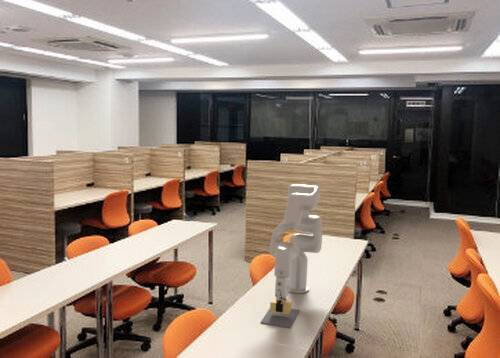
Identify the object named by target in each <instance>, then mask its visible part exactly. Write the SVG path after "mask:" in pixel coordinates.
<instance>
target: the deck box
mask: <svg viewBox="0 0 500 358" xmlns="http://www.w3.org/2000/svg"><path fill="white" fill-rule="evenodd" d="M276 298H277V297H273V298H272V299H271V301H270V302H269V304H270V305H269V309H270V311H271V312H277V311H276ZM285 299H286V298H285ZM285 299H283V301H282V304H283V312H277V313H283V314H289V313H290V311H291V309H293V308H292V307H293V305H292V304H293V300H291V299H286V300H285ZM280 300H281V299H280Z"/></svg>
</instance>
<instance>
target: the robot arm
mask: <svg viewBox="0 0 500 358" xmlns="http://www.w3.org/2000/svg"><path fill="white" fill-rule="evenodd" d="M287 193H288V197H287V199H286V200H287V201H286V206H285V211H284V218H283V220H282V222H280V223H279V224H278V225H277V226H276V227H275V229H274V230H273V232H272V234H271V238H270V243H269V253H270V255H271V256H273V257H274V276H275V285H274V286H275V289H274V298H276V311H277V312H283V304H282V301H283V299H285V300H287V296H288V295H289V293H292V294H306V293H307V292H309V291H310V287H309V286H308V285H307V279H308V261H309V260H308V257H307V255H306V253H311V254H318V253H320V252H321V250H322V246H323V243H322V242H323V226H324V225H323V219H322V217H320V216H319V215H313V214H310V212H312V211H315V210H316V208H317V205H318V203H319V202H320V198H321V196H322V195H321V194H322V191H321V188H320V187H319V186H318V185H310V184H298V183H296V184H295V183H294V184H290V185H289V186H288V187H287ZM291 229H294V231H296V232H299V233H293V234H292V235H290V237H289V242H288V241H281V240H279V237H280V235H282V234H283V233H284V232H286V231H288V230H291ZM308 233H309V234H308ZM280 299H281V300H280Z"/></svg>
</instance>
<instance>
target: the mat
mask: <svg viewBox="0 0 500 358" xmlns="http://www.w3.org/2000/svg"><path fill="white" fill-rule="evenodd" d="M299 313H300V309H297V308H292V309H291V311H290V313H289V314H283V313H277V312H271V311H270V308H269V309H268V310H267V311H266V314H265V315H264V316H263V318H262V319H261V321H260V324H263V325H268V326H269V325H270V326H274V327H279V328H286V329H291V327H292V325H293V324H294V322H295V320H296V319H297V316H298V315H299Z"/></svg>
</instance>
